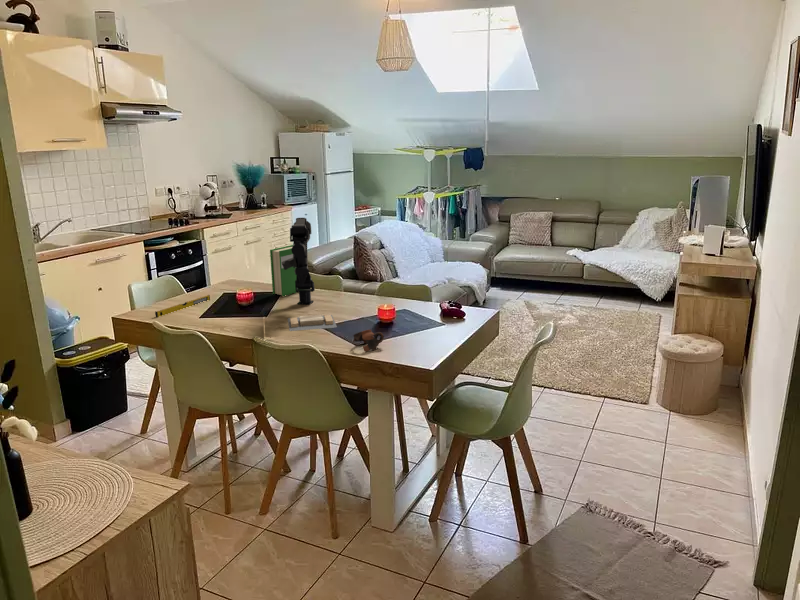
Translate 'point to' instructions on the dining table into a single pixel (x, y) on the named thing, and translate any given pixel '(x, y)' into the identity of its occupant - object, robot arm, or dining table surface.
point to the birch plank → (311, 320)
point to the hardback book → (282, 271)
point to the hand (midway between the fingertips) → (301, 285)
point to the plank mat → (295, 325)
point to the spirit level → (181, 306)
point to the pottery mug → (369, 339)
